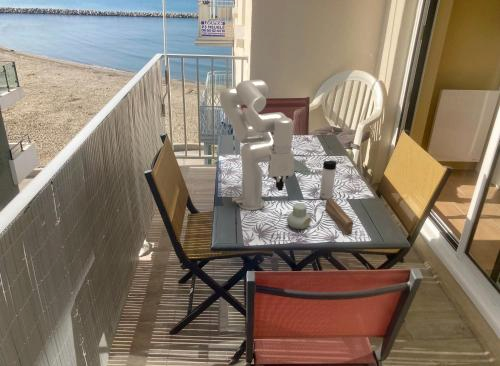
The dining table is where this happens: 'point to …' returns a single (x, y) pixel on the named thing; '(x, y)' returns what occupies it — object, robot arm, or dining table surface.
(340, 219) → the board
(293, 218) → the air freshener
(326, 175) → the travel mug
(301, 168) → the decorative slab
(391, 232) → the dining table surface
